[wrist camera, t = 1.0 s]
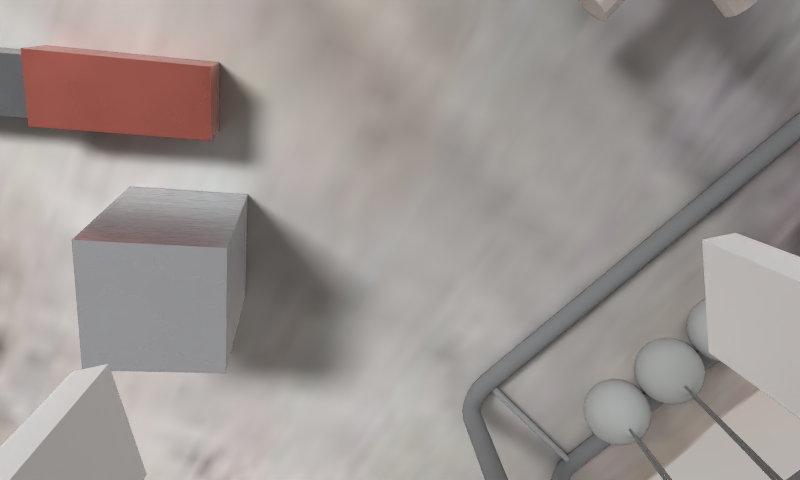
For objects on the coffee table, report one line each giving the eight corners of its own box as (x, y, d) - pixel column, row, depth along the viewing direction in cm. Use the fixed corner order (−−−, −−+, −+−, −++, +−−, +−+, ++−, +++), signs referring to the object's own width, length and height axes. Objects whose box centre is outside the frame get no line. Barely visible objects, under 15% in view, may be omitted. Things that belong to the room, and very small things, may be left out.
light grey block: (129, 186, 32) (71, 240, 24) (247, 194, 32) (226, 247, 25) (134, 291, 34) (82, 370, 26) (245, 295, 34) (225, 373, 27)
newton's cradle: (847, 67, 34) (1336, 117, 18) (916, 195, 38) (1376, 334, 21) (451, 395, 39) (551, 678, 22) (546, 482, 42) (693, 781, 26)
